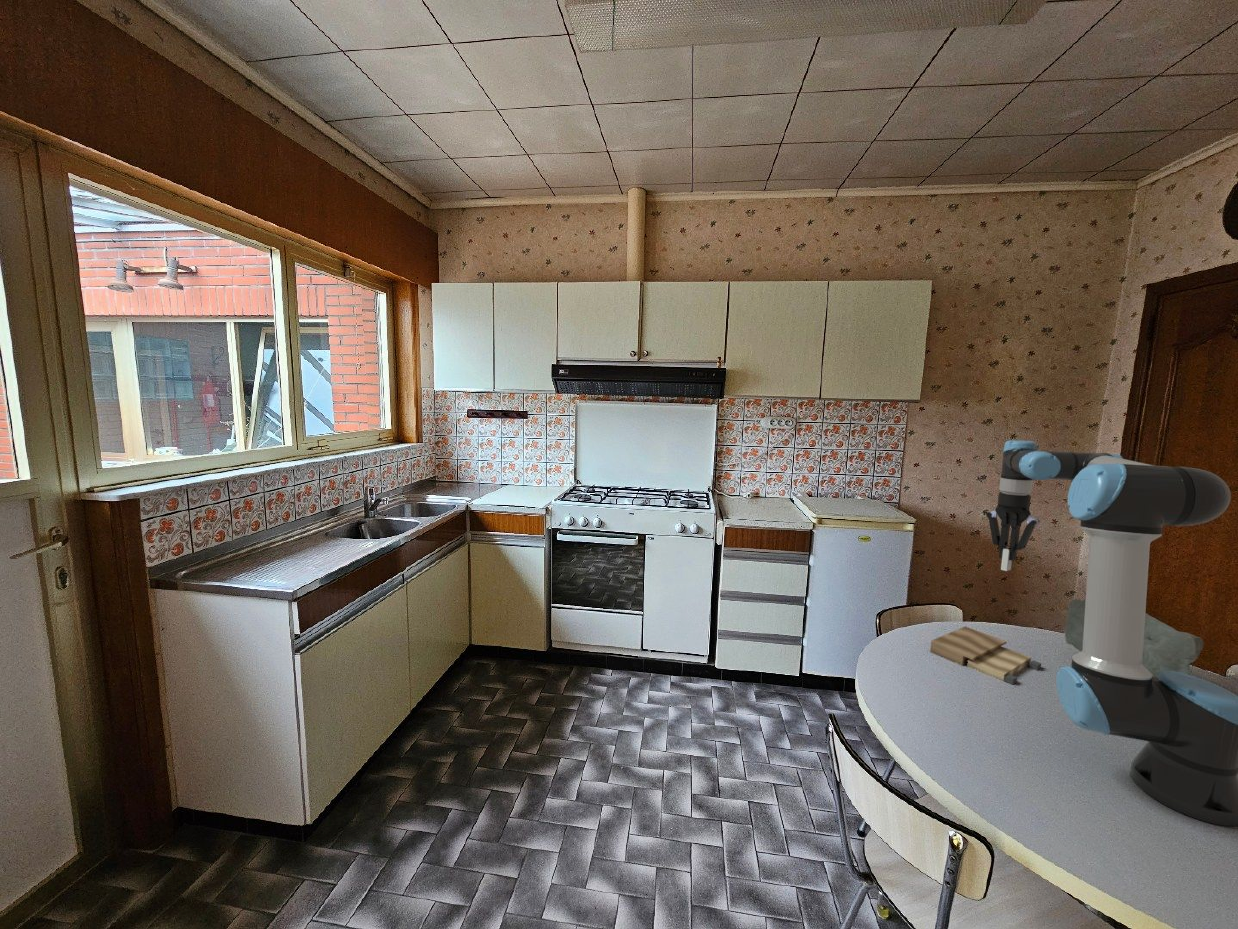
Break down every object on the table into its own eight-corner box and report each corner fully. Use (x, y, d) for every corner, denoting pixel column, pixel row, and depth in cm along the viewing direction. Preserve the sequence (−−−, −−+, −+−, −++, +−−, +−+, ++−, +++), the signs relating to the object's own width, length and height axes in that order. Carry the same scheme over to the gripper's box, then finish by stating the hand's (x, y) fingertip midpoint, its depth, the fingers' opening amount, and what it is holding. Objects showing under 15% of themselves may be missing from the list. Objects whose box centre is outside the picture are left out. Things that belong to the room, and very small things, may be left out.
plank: (999, 690, 139) (1007, 676, 137) (964, 666, 146) (971, 653, 144) (1026, 672, 148) (1034, 659, 146) (992, 650, 155) (999, 637, 154)
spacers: (1012, 684, 136) (1013, 679, 136) (1003, 681, 138) (1004, 676, 138) (1040, 668, 145) (1041, 663, 145) (1032, 665, 146) (1033, 660, 146)
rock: (1194, 690, 134) (1206, 620, 132) (1194, 699, 130) (1207, 627, 128) (1063, 652, 154) (1072, 590, 151) (1060, 659, 150) (1068, 595, 147)
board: (971, 669, 144) (973, 657, 143) (930, 652, 153) (931, 640, 153) (1005, 652, 153) (1006, 641, 153) (964, 637, 163) (965, 626, 163)
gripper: (1047, 495, 144) (1037, 574, 147) (995, 488, 155) (987, 561, 158) (1035, 497, 140) (1025, 578, 143) (983, 490, 151) (975, 565, 154)
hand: (1005, 569), depth 150 cm, fingers closed
